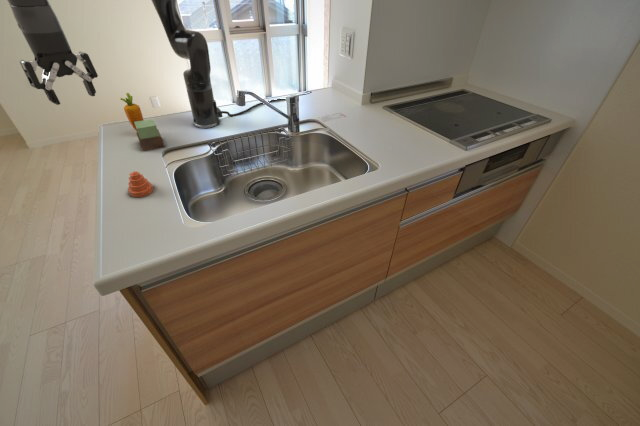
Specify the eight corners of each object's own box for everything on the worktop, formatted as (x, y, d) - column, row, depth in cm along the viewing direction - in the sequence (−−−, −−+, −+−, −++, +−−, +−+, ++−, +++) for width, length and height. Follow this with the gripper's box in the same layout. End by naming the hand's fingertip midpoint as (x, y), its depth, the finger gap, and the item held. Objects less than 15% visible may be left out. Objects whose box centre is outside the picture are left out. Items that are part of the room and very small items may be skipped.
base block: (161, 138, 109) (157, 128, 106) (164, 147, 105) (161, 136, 102) (140, 142, 106) (136, 132, 103) (142, 151, 102) (138, 140, 99)
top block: (156, 129, 106) (153, 118, 103) (159, 136, 102) (156, 125, 99) (138, 132, 103) (134, 121, 101) (140, 139, 99) (136, 128, 97)
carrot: (143, 138, 108) (128, 97, 99) (131, 136, 109) (115, 95, 99) (151, 132, 112) (138, 92, 102) (139, 131, 113) (125, 91, 103)
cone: (151, 183, 88) (144, 164, 84) (154, 193, 84) (147, 174, 80) (128, 188, 85) (120, 169, 81) (131, 199, 82) (122, 180, 77)
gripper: (11, 34, 61) (52, 111, 72) (83, 27, 71) (110, 96, 81) (-5, 29, 64) (37, 103, 75) (67, 23, 74) (95, 89, 84)
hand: (75, 99), depth 78 cm, fingers open, 8 cm apart
